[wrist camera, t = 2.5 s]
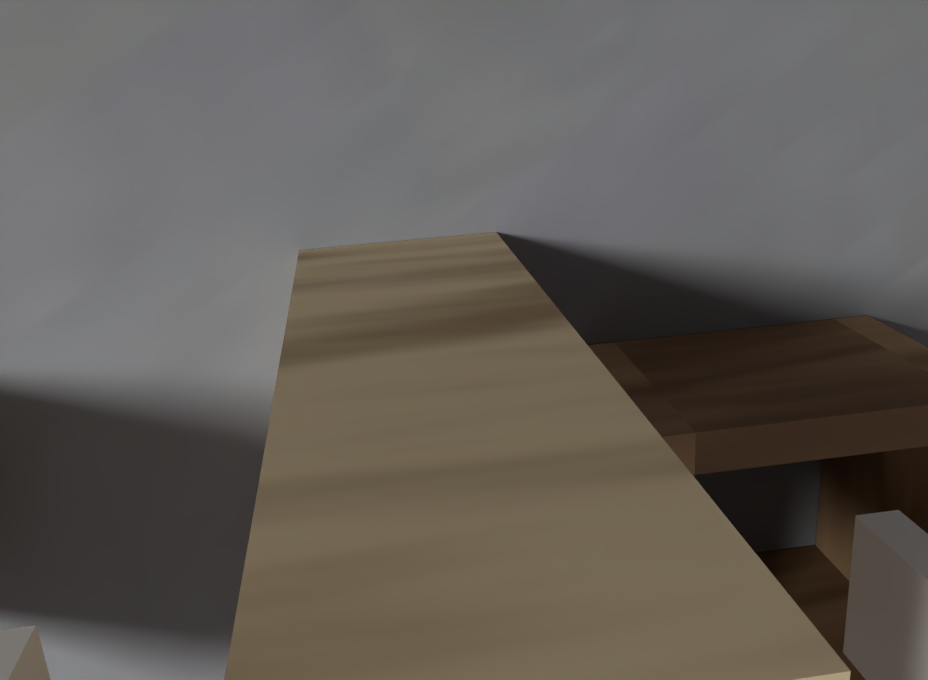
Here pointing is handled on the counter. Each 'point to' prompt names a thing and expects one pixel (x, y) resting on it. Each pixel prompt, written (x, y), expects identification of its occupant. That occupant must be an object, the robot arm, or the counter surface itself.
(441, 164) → the counter surface
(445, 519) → the tan wooden block
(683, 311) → the counter surface
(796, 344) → the holder
